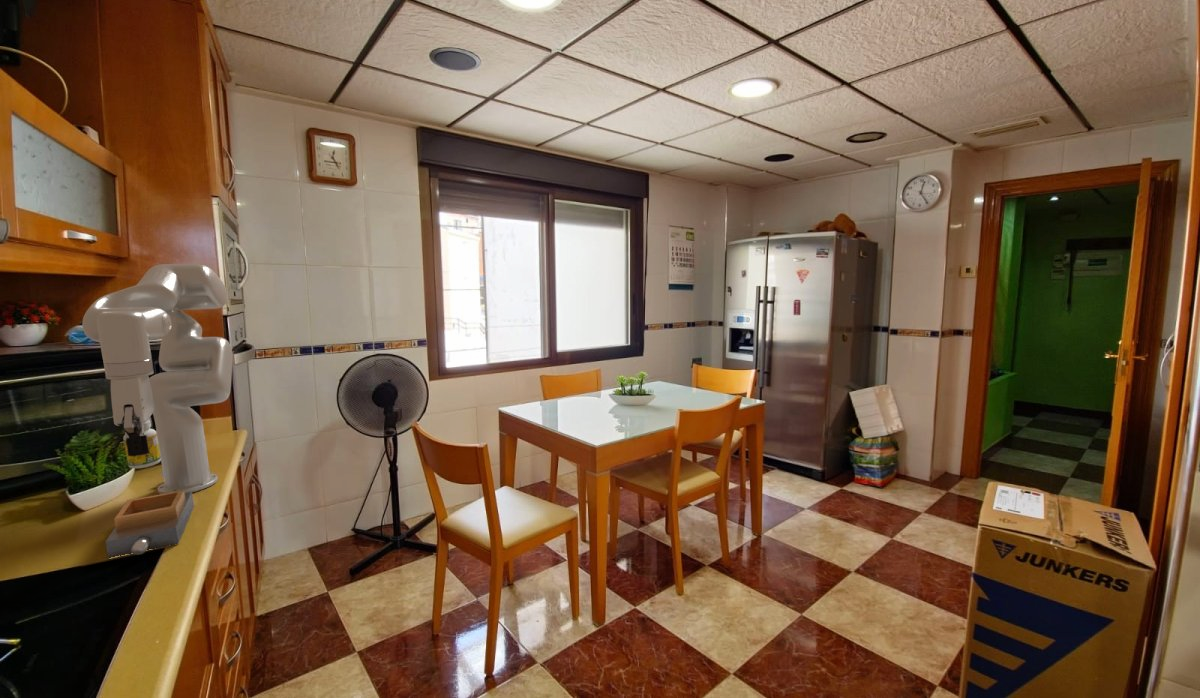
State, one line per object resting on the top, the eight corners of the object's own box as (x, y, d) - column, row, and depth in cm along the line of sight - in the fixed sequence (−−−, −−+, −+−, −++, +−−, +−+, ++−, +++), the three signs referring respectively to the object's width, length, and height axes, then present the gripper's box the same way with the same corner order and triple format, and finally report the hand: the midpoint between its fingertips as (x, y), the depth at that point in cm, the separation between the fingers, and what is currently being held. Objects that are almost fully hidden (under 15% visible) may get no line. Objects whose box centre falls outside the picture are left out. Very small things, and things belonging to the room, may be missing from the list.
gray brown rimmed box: (134, 518, 118) (130, 492, 117) (193, 506, 124) (190, 481, 123) (104, 567, 99) (98, 537, 98) (175, 551, 105) (171, 522, 103)
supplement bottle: (164, 458, 114) (158, 417, 112) (156, 466, 109) (149, 424, 107) (134, 462, 112) (127, 420, 110) (123, 470, 107) (116, 427, 105)
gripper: (117, 364, 112) (130, 441, 115) (91, 378, 98) (107, 466, 101) (161, 360, 116) (172, 435, 119) (142, 374, 101) (156, 459, 104)
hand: (142, 449), depth 110 cm, fingers closed on supplement bottle, 5 cm apart
